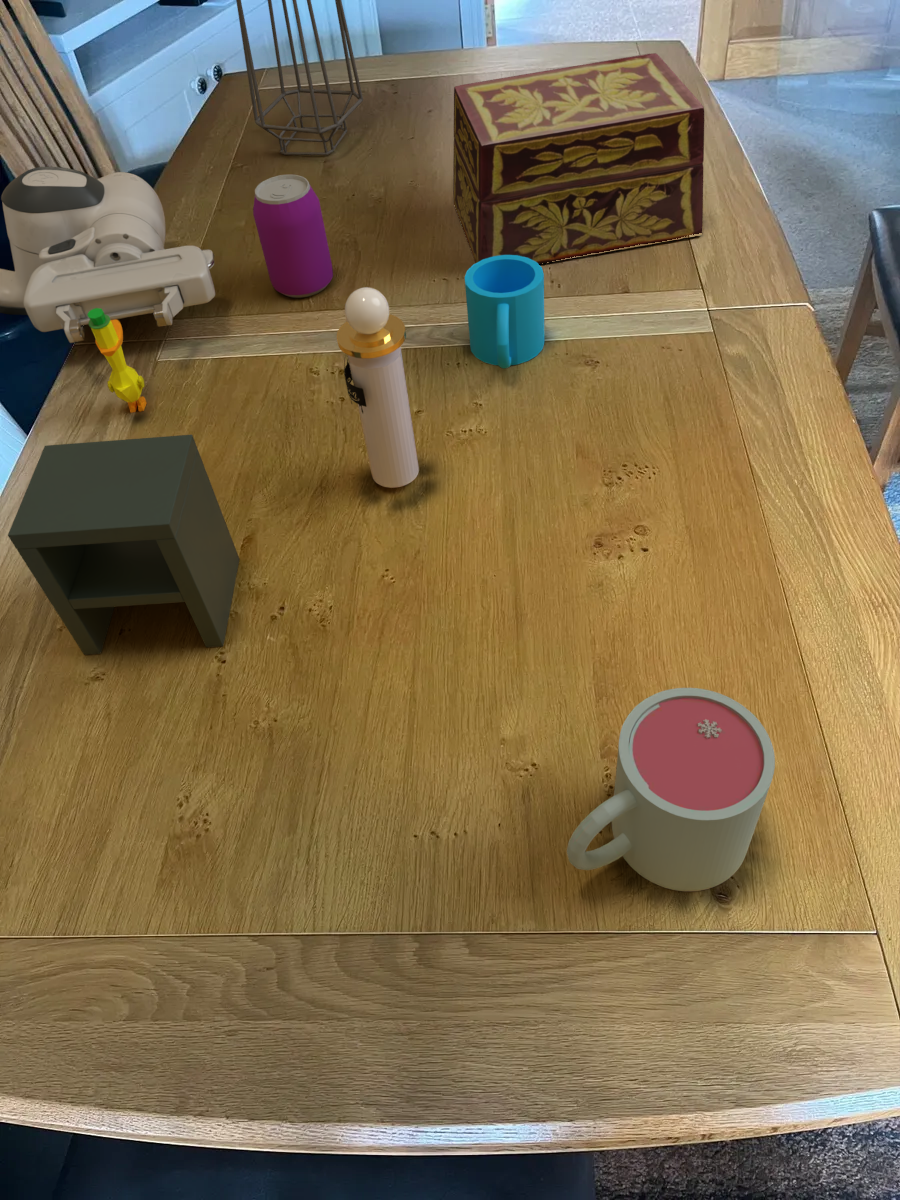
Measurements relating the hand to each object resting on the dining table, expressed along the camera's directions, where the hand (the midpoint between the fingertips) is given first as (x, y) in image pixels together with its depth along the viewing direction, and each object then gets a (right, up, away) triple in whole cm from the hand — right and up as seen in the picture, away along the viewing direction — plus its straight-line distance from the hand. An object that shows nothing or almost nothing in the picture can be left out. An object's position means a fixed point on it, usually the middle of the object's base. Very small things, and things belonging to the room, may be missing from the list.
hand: (118, 328), depth 99 cm
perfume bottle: (+30, -17, -9) cm, 36 cm away
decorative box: (+51, +19, +19) cm, 58 cm away
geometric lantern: (+15, +39, +41) cm, 58 cm away
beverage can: (+17, +10, +15) cm, 25 cm away
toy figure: (+1, -8, +2) cm, 8 cm away
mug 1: (+41, -2, +2) cm, 41 cm away
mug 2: (+49, -45, -35) cm, 75 cm away
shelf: (+10, -29, -17) cm, 36 cm away
